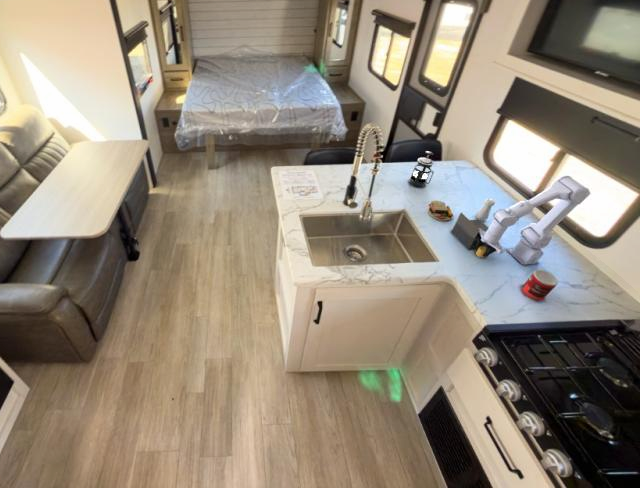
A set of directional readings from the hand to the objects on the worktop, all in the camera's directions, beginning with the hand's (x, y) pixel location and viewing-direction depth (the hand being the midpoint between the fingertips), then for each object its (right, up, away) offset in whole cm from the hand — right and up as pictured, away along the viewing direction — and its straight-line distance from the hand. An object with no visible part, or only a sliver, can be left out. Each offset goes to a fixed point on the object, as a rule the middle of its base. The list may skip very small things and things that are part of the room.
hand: (481, 252), depth 154 cm
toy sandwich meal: (-5, +17, +26) cm, 31 cm away
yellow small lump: (0, -1, +1) cm, 2 cm away
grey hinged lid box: (+2, +5, +10) cm, 11 cm away
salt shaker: (+16, +14, +22) cm, 31 cm away
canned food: (+9, -14, -17) cm, 24 cm away
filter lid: (-4, +13, +3) cm, 14 cm away
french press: (-3, +34, +49) cm, 60 cm away
